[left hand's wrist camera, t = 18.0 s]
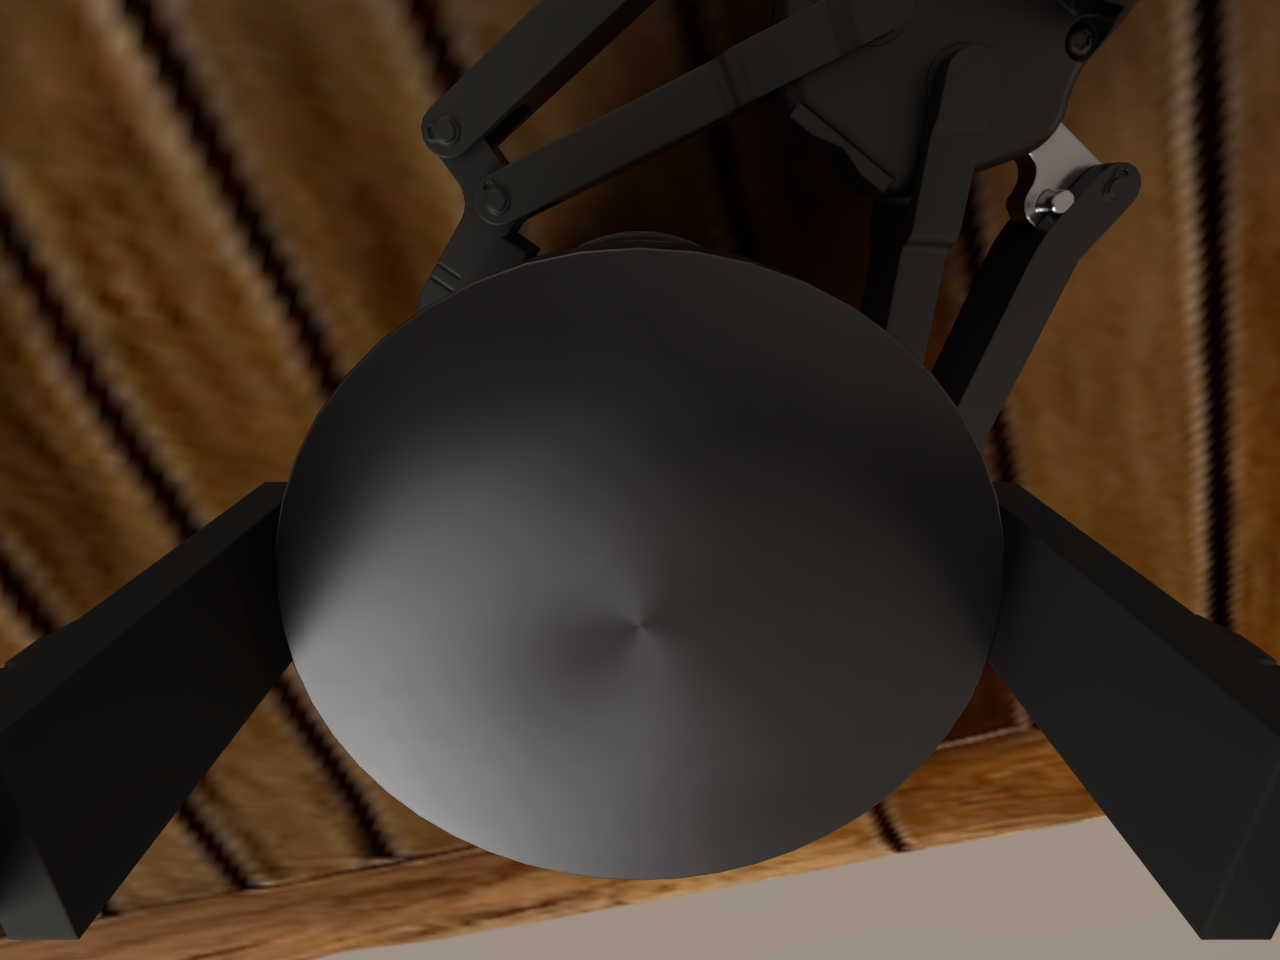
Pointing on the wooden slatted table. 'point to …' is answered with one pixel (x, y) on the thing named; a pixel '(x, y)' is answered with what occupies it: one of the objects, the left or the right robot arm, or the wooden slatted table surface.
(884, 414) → the lid
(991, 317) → the right robot arm
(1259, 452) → the wooden slatted table surface
